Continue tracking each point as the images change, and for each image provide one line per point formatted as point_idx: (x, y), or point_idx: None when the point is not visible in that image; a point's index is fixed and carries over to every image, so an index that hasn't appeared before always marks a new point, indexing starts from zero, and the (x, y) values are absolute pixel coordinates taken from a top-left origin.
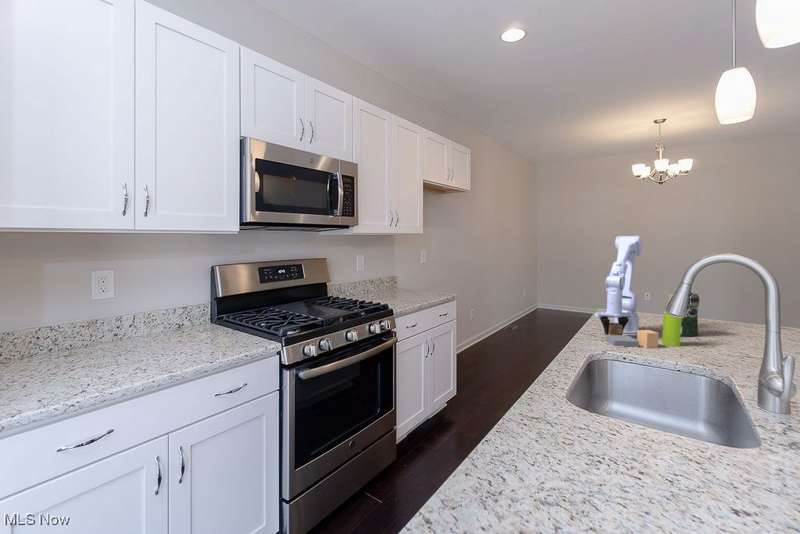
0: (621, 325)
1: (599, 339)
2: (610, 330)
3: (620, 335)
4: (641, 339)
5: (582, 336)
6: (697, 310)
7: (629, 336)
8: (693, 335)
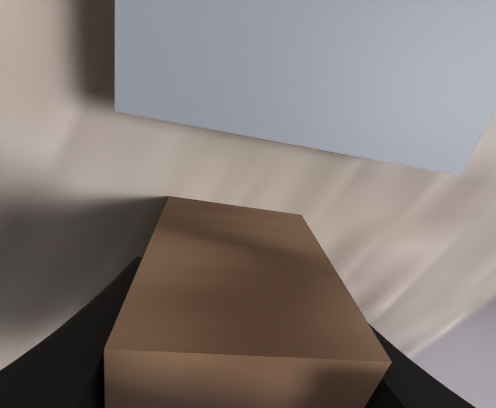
0: (127, 355)
1: (411, 209)
2: (332, 280)
3: (257, 119)
4: None
5: (467, 302)
6: None
7: (125, 17)
8: None
